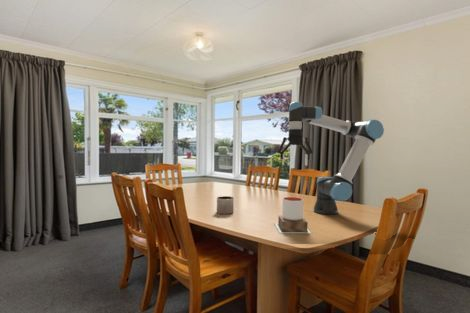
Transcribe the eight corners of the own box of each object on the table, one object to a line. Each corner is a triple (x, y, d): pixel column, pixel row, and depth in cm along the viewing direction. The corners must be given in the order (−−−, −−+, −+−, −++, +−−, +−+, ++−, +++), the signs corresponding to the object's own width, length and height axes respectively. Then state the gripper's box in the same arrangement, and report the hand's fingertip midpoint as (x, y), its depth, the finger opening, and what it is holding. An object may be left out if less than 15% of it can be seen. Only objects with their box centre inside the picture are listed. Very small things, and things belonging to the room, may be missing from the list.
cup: (280, 216, 142) (280, 197, 142) (299, 216, 143) (299, 197, 143) (285, 221, 132) (285, 201, 132) (305, 221, 133) (305, 200, 133)
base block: (301, 225, 144) (301, 215, 144) (307, 232, 132) (307, 222, 132) (278, 224, 144) (278, 215, 144) (282, 232, 132) (282, 221, 132)
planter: (213, 213, 173) (213, 198, 173) (221, 209, 183) (221, 195, 183) (229, 215, 169) (229, 199, 168) (236, 211, 179) (236, 196, 179)
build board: (303, 226, 146) (303, 223, 146) (312, 236, 130) (312, 233, 130) (273, 226, 146) (274, 223, 146) (278, 236, 130) (278, 233, 130)
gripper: (314, 129, 164) (313, 165, 165) (273, 129, 164) (272, 164, 165) (318, 128, 156) (317, 166, 157) (275, 128, 156) (274, 165, 157)
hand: (294, 165), depth 161 cm, fingers open, 13 cm apart
